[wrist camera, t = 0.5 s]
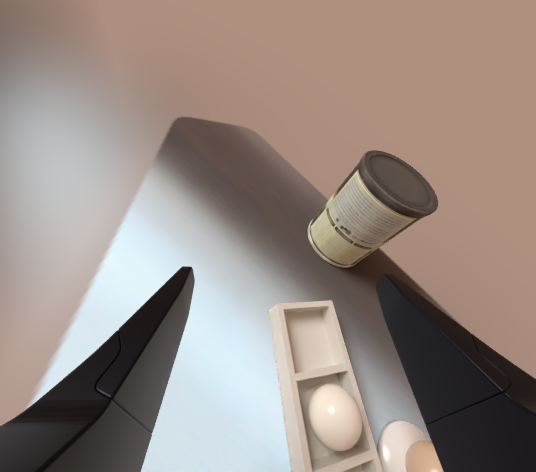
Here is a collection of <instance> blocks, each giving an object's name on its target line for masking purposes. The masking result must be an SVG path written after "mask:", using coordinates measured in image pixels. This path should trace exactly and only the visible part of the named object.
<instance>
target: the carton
mask: <svg viewBox="0 0 536 472" xmlns="http://www.w3.org/2000/svg"><path fill="white" fill-rule="evenodd" d="M269 318H270V325H271V332H272V339H273V346H274V353H275V360H276V367H277V374H278V381H279V388H280V395H281V402H282V409H283V416H284V423H285V430H286V437H287V444H288V451H289V458H290V465H291V472H383V469H382V466H381V463H380V459H379V456H378V453H377V449H376V446H375V443H374V439H373V436H372V433H371V429H370V426H369V423H368V419H367V416H366V413H365V409H364V406H363V403H362V399H361V396H360V393H359V389H358V386H357V383H356V379H355V376H354V373H353V369H352V366H351V363H350V359H349V356H348V353H347V349H346V346H345V343H344V339H343V336H342V333H341V329H340V326H339V323H338V319H337V316H336V313H335V310H334V306H333V303H332V301H317V302H301V303H284V304H277V305H275V306H274V307H273V308H272V309H271V310H269ZM325 384H335V385H338V386H341V387H343V388H344V389H346V390H347V391H348V392H349V393H350V394H351V395H352V396H353V397H354V399H355V400H356V402H357V404H358V406H359V408H360V411H361V415H362V432H361V435H360V438H359V440H358V442H357V443H356V444H355V445H354V446H353V447H352V448H350V449H348V450H345V451H336V450H332V449H330V448H328V447H327V446H325V445H324V444H323V443H322V442H321V441H320V440H319V439H318V438H317V436H316V435H315V433H314V431H313V429H312V427H311V424H310V420H309V413H308V409H309V402H310V399H311V396H312V394H313V393H314V392H315V391H316V389H317V388H319V387H320V386H322V385H325Z"/></svg>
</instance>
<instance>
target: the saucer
mask: <svg viewBox="0 0 536 472" xmlns="http://www.w3.org/2000/svg"><path fill="white" fill-rule="evenodd" d="M417 441H428V439H427V438H426V436H425V435H424V434H423V433H422V432H421V431H420V430H419V429H418V428H417V427H416V426H414V425H412V424H411V423H408V422H404V421H398V420H394V421H391V422H389V423H387V424H386V425H385V426H384V428H383V429H382V431H381V434H380V437H379V441H378V456H379V459H380V463H381V466H382V469H383V472H407V471H406V465H405V457H406V453H407V450H408V448H409V447H410V445H412V444H413V443H414V442H417Z"/></svg>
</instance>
